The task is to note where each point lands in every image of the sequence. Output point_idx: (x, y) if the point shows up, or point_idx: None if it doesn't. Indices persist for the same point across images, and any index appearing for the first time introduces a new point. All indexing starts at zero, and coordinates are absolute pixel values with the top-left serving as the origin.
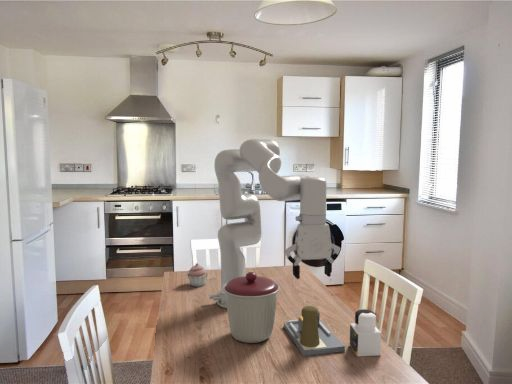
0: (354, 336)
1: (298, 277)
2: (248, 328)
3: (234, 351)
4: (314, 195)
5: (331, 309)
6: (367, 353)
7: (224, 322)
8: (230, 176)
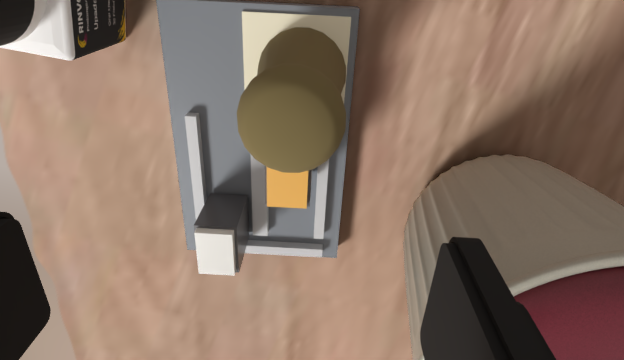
0: None
1: (469, 246)
2: (573, 179)
3: (602, 124)
4: None
5: (116, 316)
6: None
7: None
8: None
